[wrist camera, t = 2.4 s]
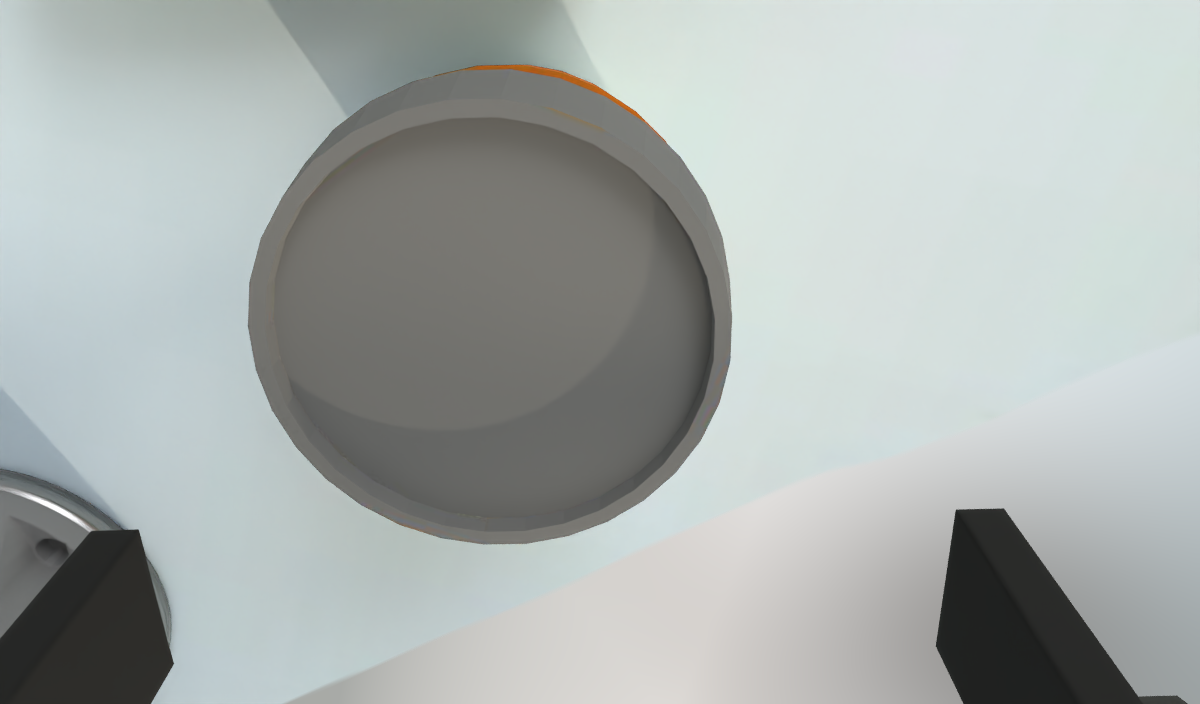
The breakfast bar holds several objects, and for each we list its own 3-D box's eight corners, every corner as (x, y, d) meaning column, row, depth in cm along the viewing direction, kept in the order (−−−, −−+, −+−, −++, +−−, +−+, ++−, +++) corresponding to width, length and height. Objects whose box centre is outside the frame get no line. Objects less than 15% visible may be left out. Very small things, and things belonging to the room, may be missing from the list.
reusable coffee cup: (744, 252, 38) (825, 429, 25) (480, 388, 41) (420, 619, 27) (591, -43, 34) (586, -26, 20) (305, 131, 36) (127, 251, 23)
